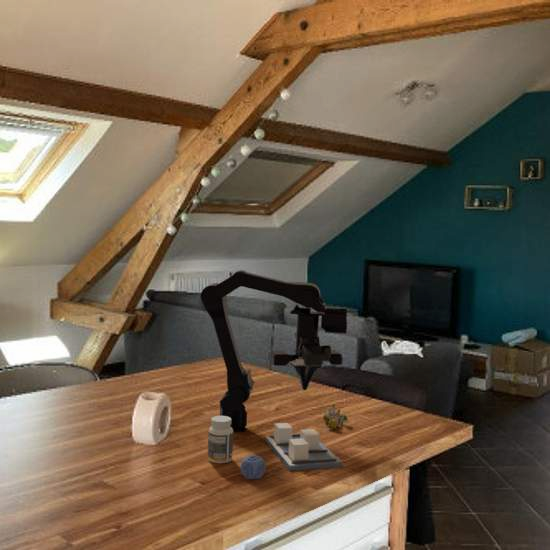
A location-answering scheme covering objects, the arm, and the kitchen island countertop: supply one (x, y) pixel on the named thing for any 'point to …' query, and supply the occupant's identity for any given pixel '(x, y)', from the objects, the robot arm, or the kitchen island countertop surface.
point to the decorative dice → (253, 467)
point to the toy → (334, 418)
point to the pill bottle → (220, 440)
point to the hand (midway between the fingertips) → (304, 389)
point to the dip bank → (315, 457)
